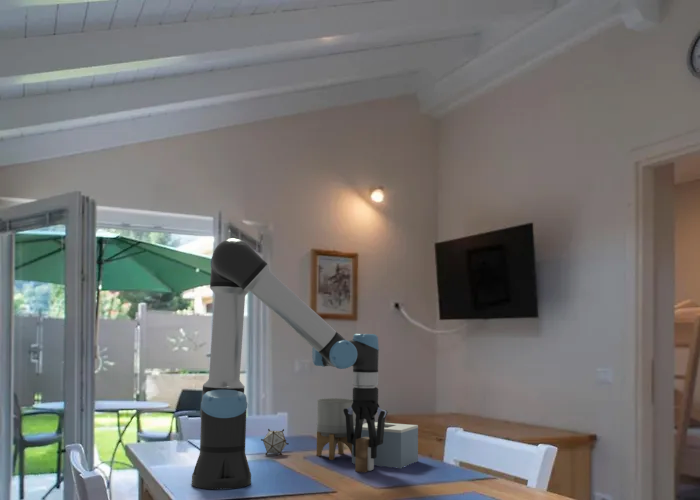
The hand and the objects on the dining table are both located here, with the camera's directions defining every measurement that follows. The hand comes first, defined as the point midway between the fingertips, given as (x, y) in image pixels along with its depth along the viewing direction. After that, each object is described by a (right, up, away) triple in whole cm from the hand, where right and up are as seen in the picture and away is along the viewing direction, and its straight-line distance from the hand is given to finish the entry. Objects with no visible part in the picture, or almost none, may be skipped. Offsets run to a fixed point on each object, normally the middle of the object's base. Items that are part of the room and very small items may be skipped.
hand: (364, 469), depth 204 cm
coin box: (+7, -2, +13) cm, 15 cm away
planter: (-9, -3, +23) cm, 25 cm away
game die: (-29, -3, +25) cm, 38 cm away
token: (0, 0, 0) cm, 0 cm away
